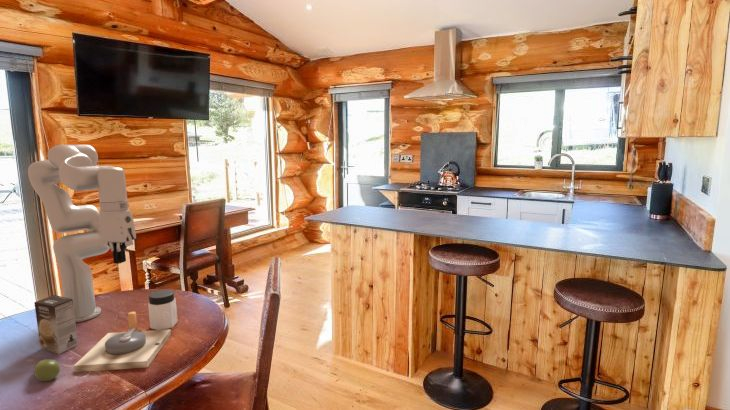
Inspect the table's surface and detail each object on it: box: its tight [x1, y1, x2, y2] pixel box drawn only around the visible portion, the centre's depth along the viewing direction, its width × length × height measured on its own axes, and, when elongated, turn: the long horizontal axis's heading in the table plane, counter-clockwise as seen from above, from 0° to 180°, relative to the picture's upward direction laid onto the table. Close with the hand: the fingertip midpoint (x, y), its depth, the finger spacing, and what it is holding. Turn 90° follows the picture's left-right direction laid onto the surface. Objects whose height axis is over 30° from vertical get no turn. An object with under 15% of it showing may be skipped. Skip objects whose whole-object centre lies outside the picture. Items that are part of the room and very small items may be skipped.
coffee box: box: [34, 294, 79, 355], centre depth 130 cm, size 9×6×16 cm
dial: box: [105, 311, 146, 355], centre depth 129 cm, size 15×11×7 cm
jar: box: [147, 289, 178, 330], centre depth 145 cm, size 9×8×12 cm
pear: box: [33, 358, 61, 382], centre depth 115 cm, size 6×5×10 cm
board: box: [73, 328, 172, 373], centre depth 128 cm, size 20×20×2 cm
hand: (120, 262), depth 131 cm, fingers closed
